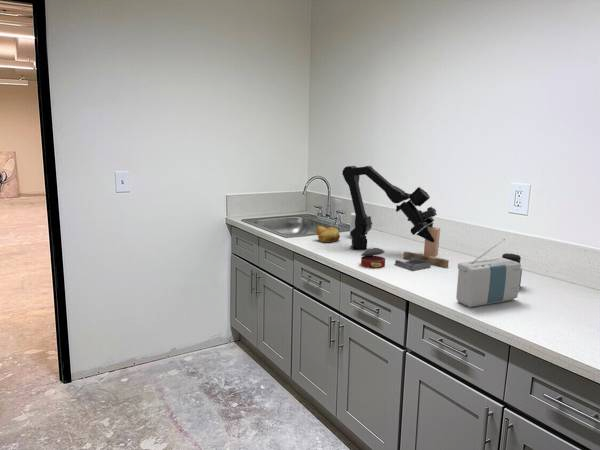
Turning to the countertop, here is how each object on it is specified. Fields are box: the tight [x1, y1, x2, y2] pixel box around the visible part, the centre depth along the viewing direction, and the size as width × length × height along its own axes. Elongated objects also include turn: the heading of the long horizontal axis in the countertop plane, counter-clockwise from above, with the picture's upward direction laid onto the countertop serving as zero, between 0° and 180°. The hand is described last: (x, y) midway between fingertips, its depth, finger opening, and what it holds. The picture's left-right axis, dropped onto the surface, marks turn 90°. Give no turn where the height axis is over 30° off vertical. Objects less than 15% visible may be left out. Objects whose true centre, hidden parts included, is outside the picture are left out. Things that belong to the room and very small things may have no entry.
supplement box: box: [349, 212, 356, 240], centre depth 247 cm, size 7×7×13 cm
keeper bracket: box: [393, 257, 432, 271], centre depth 195 cm, size 10×10×2 cm
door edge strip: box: [402, 250, 450, 269], centre depth 201 cm, size 20×2×3 cm, turn 47°
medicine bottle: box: [501, 252, 523, 288], centre depth 170 cm, size 7×7×12 cm
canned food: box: [360, 247, 386, 269], centre depth 195 cm, size 11×10×10 cm
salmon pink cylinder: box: [423, 226, 441, 258], centre depth 207 cm, size 5×5×12 cm
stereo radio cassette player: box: [455, 238, 522, 308], centre depth 153 cm, size 21×8×20 cm, turn 115°
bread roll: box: [315, 225, 341, 243], centre depth 238 cm, size 13×10×8 cm
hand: (435, 240), depth 206 cm, fingers closed on salmon pink cylinder, 5 cm apart
